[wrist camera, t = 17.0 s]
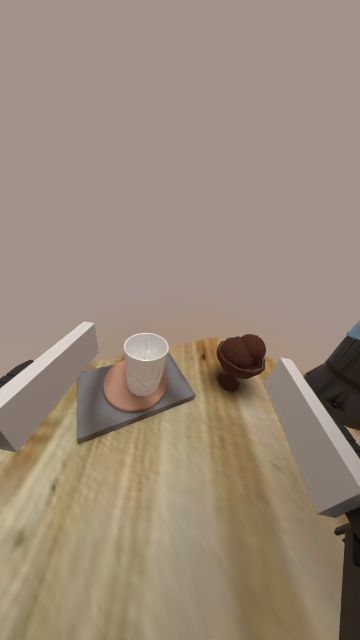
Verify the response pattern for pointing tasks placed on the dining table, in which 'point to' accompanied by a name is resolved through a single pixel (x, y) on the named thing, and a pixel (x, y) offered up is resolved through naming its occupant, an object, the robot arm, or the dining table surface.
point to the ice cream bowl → (240, 359)
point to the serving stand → (124, 398)
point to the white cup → (144, 362)
